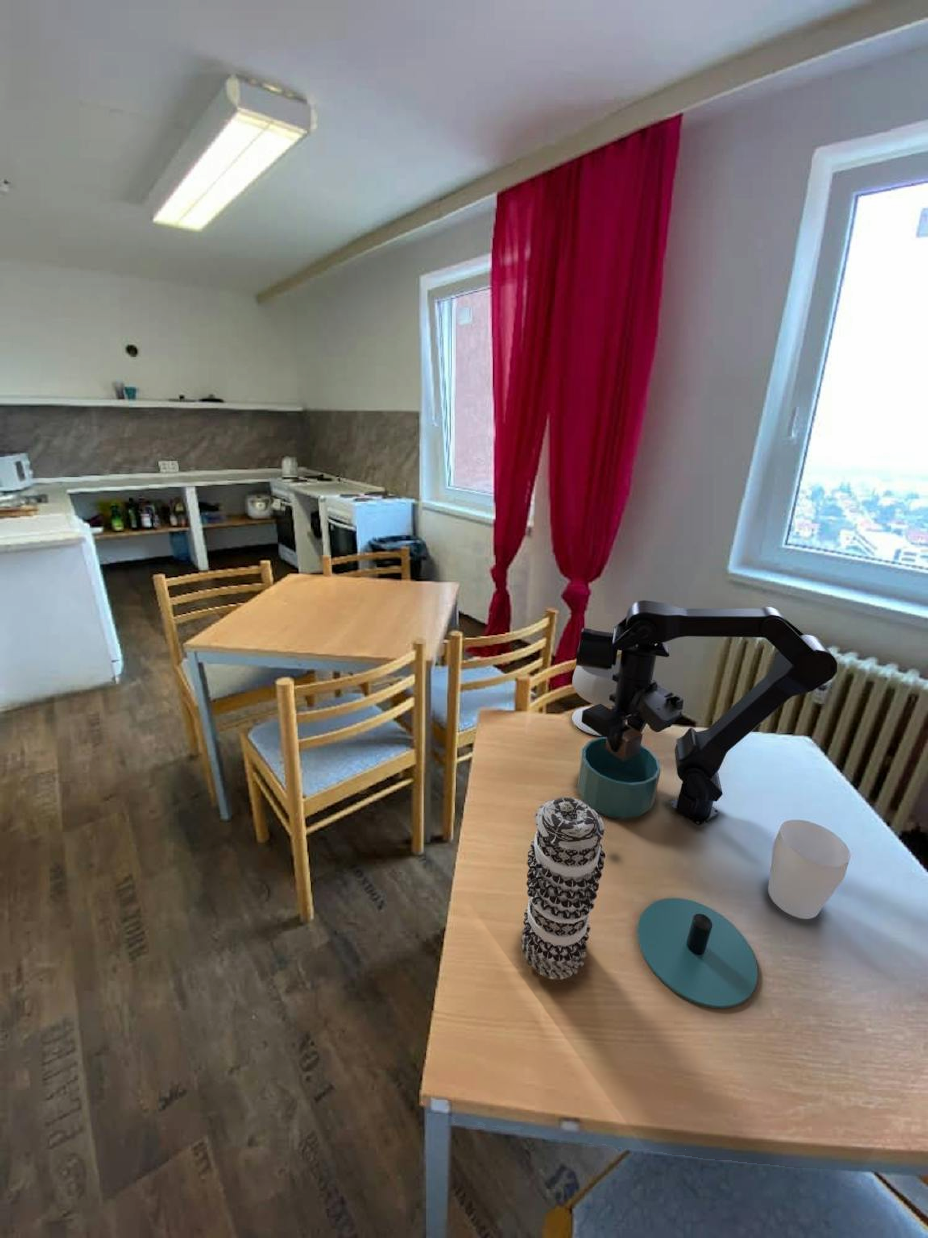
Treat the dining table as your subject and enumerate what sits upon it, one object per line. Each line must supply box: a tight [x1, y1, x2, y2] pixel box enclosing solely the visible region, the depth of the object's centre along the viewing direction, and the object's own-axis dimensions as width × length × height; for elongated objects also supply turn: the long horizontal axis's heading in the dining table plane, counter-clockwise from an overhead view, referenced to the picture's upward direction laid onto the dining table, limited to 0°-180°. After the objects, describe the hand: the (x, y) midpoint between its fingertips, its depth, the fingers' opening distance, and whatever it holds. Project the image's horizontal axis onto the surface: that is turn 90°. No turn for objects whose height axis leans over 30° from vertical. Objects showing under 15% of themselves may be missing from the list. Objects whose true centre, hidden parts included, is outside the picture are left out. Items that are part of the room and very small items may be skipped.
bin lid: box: [637, 897, 759, 1009], centre depth 70 cm, size 15×15×6 cm
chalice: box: [571, 657, 620, 737], centre depth 120 cm, size 14×14×15 cm
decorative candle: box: [521, 796, 606, 981], centre depth 66 cm, size 9×9×25 cm
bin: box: [577, 736, 662, 820], centre depth 99 cm, size 14×14×8 cm
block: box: [605, 723, 644, 762], centre depth 96 cm, size 4×4×4 cm
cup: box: [767, 819, 851, 920], centre depth 77 cm, size 9×9×12 cm
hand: (623, 747), depth 96 cm, fingers closed on block, 4 cm apart
